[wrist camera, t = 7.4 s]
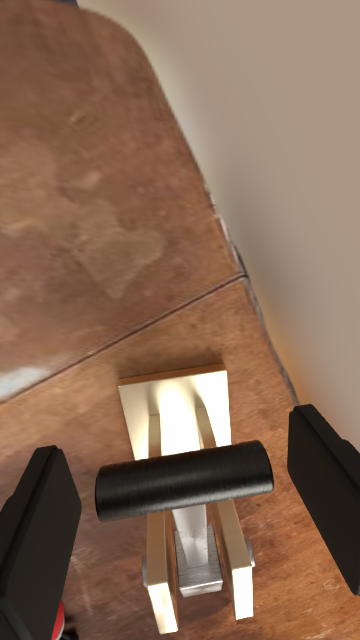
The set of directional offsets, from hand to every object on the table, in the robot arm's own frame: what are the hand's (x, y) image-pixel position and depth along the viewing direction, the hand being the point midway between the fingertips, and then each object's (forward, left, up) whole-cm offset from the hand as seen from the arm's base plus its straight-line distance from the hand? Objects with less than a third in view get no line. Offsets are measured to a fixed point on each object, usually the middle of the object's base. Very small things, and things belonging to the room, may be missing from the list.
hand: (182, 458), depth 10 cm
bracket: (+10, 0, -13) cm, 16 cm away
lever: (+5, 0, -2) cm, 5 cm away
